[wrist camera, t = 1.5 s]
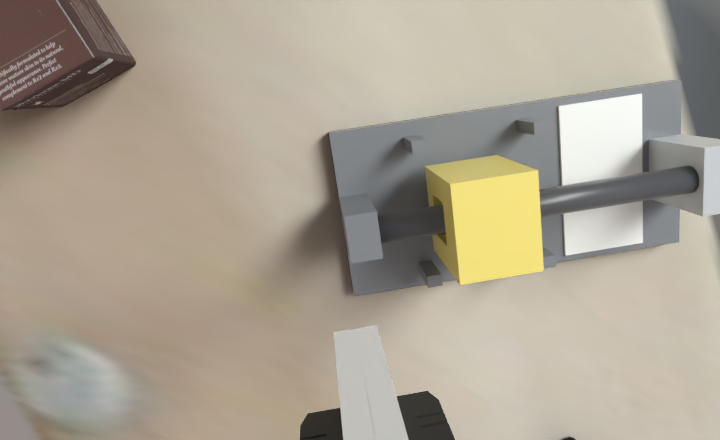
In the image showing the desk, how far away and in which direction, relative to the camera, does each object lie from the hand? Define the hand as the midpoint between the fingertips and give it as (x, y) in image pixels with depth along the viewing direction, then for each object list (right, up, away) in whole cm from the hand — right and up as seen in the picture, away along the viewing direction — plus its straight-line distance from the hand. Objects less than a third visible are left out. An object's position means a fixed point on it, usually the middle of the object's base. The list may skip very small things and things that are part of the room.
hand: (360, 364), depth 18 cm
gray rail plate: (+11, +7, +21) cm, 25 cm away
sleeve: (+7, +6, +18) cm, 21 cm away
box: (-19, +16, +16) cm, 30 cm away
